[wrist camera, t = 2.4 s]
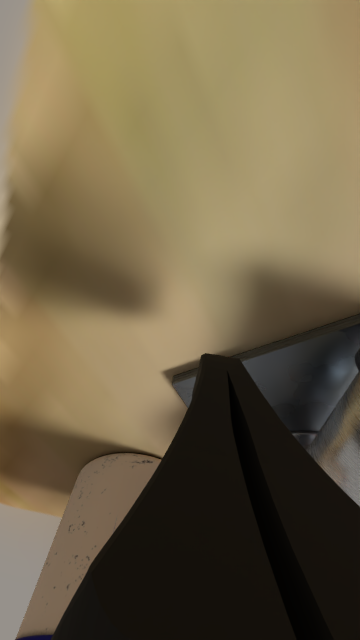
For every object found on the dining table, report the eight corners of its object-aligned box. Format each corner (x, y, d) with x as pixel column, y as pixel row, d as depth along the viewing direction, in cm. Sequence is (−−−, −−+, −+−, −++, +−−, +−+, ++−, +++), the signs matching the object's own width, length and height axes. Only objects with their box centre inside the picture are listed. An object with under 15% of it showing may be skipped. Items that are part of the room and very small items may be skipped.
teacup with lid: (55, 482, 21) (-79, 782, 11) (120, 429, 17) (7, 818, 7) (172, 535, 24) (155, 798, 14) (248, 501, 20) (297, 827, 10)
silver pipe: (317, 492, 18) (357, 605, 13) (248, 482, 17) (266, 593, 13) (444, 336, 11) (610, 455, 7) (336, 319, 11) (432, 427, 6)
